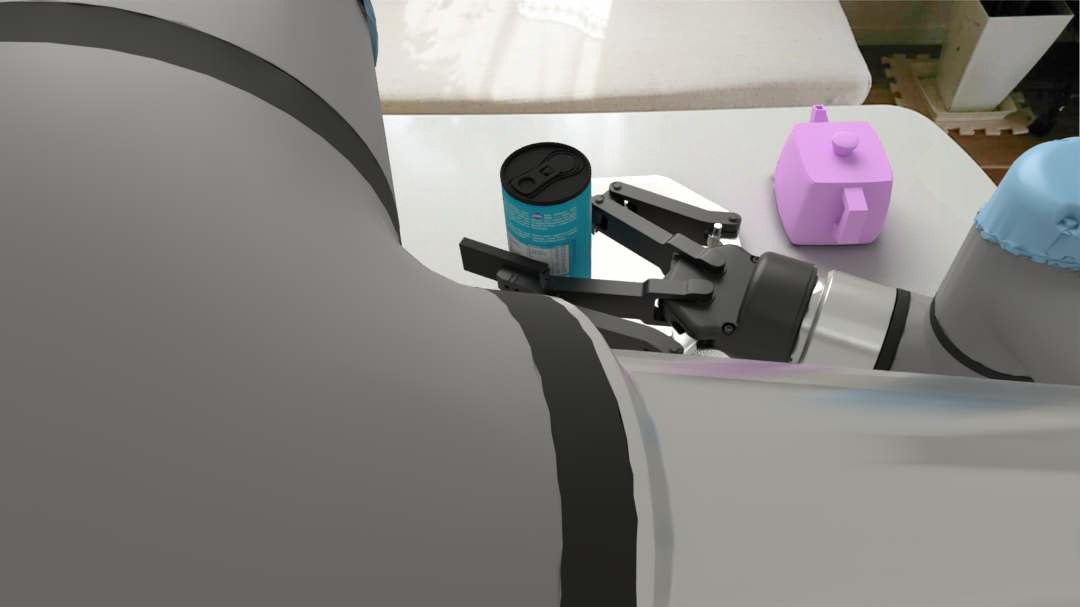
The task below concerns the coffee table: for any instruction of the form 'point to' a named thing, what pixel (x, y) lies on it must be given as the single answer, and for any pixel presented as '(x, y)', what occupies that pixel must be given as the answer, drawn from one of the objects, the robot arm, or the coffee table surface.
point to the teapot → (832, 182)
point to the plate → (624, 263)
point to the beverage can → (549, 206)
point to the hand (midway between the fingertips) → (486, 223)
